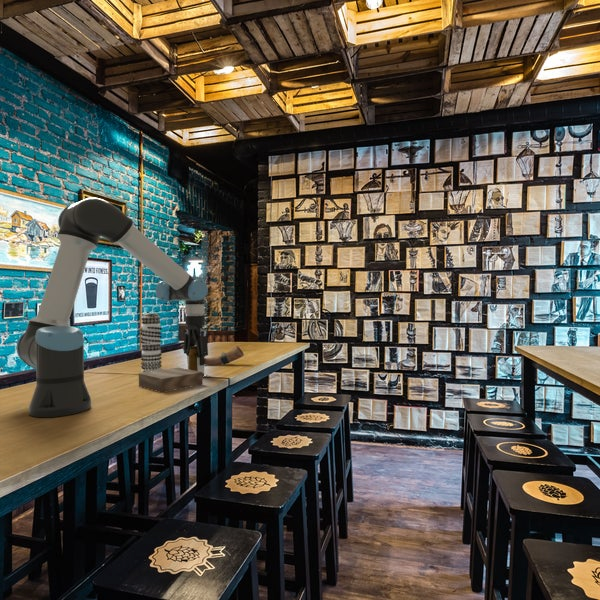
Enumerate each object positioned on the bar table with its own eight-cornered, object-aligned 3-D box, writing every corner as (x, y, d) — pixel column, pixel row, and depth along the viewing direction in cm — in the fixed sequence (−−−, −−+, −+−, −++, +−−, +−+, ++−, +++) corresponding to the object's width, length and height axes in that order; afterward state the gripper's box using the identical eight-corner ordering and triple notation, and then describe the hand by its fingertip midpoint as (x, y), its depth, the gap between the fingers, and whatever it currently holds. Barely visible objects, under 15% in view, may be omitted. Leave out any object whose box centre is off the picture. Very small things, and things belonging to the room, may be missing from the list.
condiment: (200, 373, 172) (200, 344, 172) (210, 376, 165) (210, 346, 165) (184, 376, 167) (183, 346, 167) (193, 379, 160) (193, 348, 160)
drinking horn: (243, 365, 191) (243, 344, 191) (178, 366, 191) (178, 344, 191) (244, 363, 197) (244, 342, 197) (182, 364, 197) (181, 343, 197)
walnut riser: (162, 393, 138) (161, 378, 138) (138, 387, 149) (138, 373, 149) (202, 385, 150) (202, 372, 150) (178, 380, 161) (178, 367, 161)
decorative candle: (166, 368, 186) (165, 312, 186) (156, 372, 177) (155, 313, 177) (147, 368, 187) (146, 313, 187) (136, 371, 178) (135, 313, 178)
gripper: (217, 315, 163) (218, 373, 163) (189, 314, 176) (190, 368, 176) (201, 316, 157) (201, 376, 157) (174, 315, 170) (174, 371, 170)
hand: (195, 372), depth 167 cm, fingers closed on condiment, 6 cm apart
